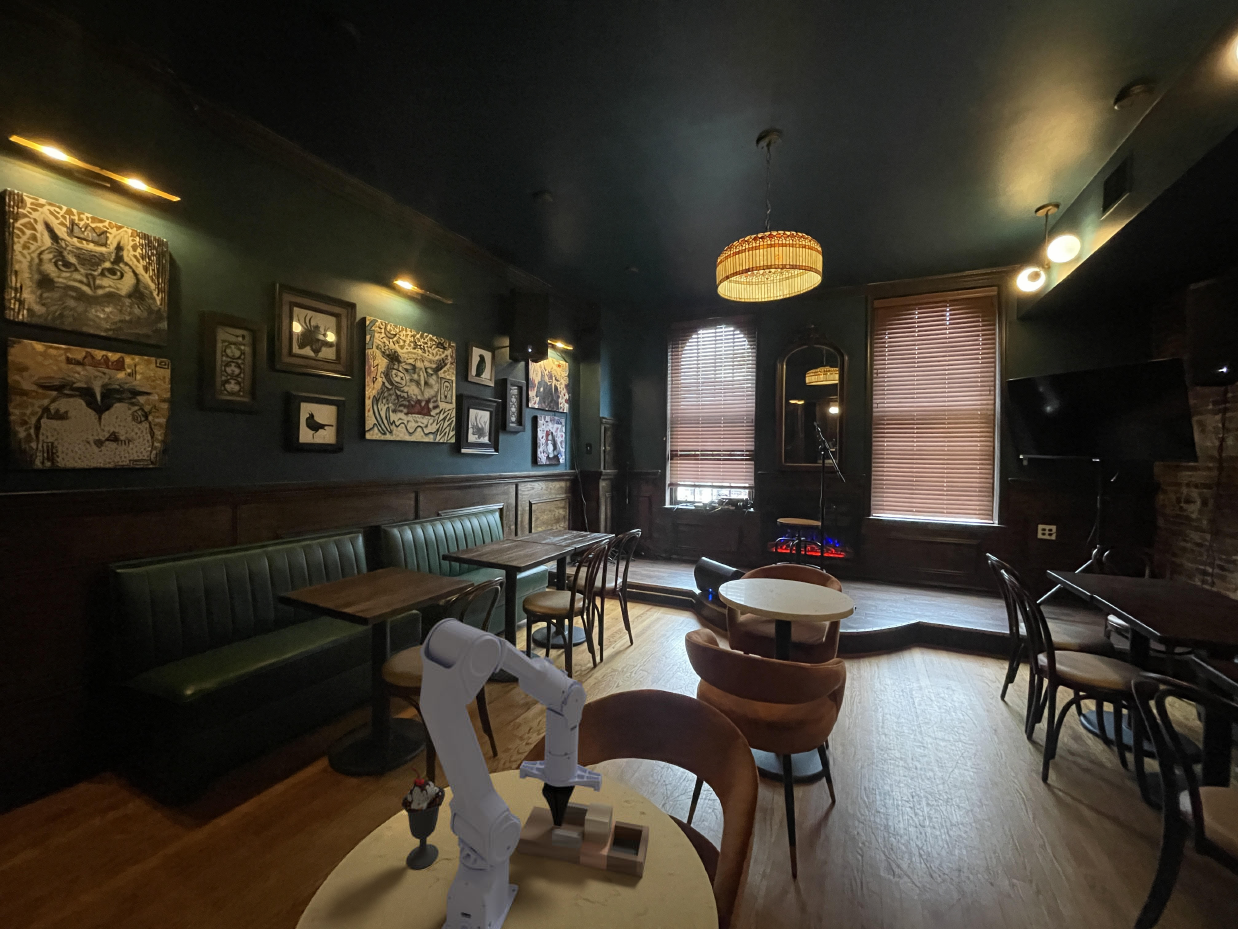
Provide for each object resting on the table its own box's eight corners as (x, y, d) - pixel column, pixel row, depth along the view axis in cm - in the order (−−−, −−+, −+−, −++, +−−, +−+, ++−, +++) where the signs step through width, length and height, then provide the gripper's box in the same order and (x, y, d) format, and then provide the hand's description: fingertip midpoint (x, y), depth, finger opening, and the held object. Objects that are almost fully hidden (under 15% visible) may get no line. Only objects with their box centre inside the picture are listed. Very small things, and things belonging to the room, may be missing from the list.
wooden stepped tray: (642, 877, 79) (643, 850, 79) (517, 852, 83) (518, 826, 83) (648, 840, 87) (649, 815, 86) (533, 819, 91) (534, 795, 90)
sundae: (400, 848, 83) (401, 762, 83) (441, 836, 86) (443, 752, 86) (400, 879, 77) (402, 787, 77) (445, 865, 80) (447, 776, 80)
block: (607, 845, 82) (608, 822, 82) (584, 841, 83) (585, 818, 83) (612, 827, 86) (612, 805, 86) (590, 823, 87) (590, 801, 87)
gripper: (607, 738, 88) (604, 812, 88) (530, 727, 91) (528, 799, 91) (597, 763, 81) (595, 843, 81) (515, 750, 84) (513, 827, 84)
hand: (559, 822), depth 86 cm, fingers closed
